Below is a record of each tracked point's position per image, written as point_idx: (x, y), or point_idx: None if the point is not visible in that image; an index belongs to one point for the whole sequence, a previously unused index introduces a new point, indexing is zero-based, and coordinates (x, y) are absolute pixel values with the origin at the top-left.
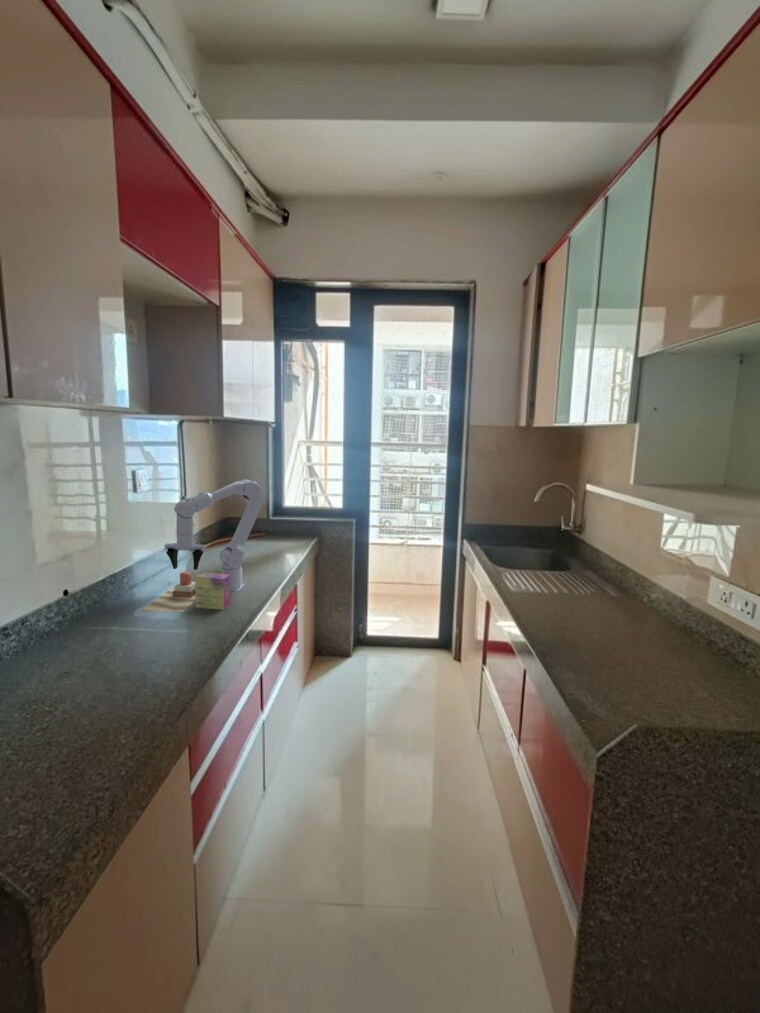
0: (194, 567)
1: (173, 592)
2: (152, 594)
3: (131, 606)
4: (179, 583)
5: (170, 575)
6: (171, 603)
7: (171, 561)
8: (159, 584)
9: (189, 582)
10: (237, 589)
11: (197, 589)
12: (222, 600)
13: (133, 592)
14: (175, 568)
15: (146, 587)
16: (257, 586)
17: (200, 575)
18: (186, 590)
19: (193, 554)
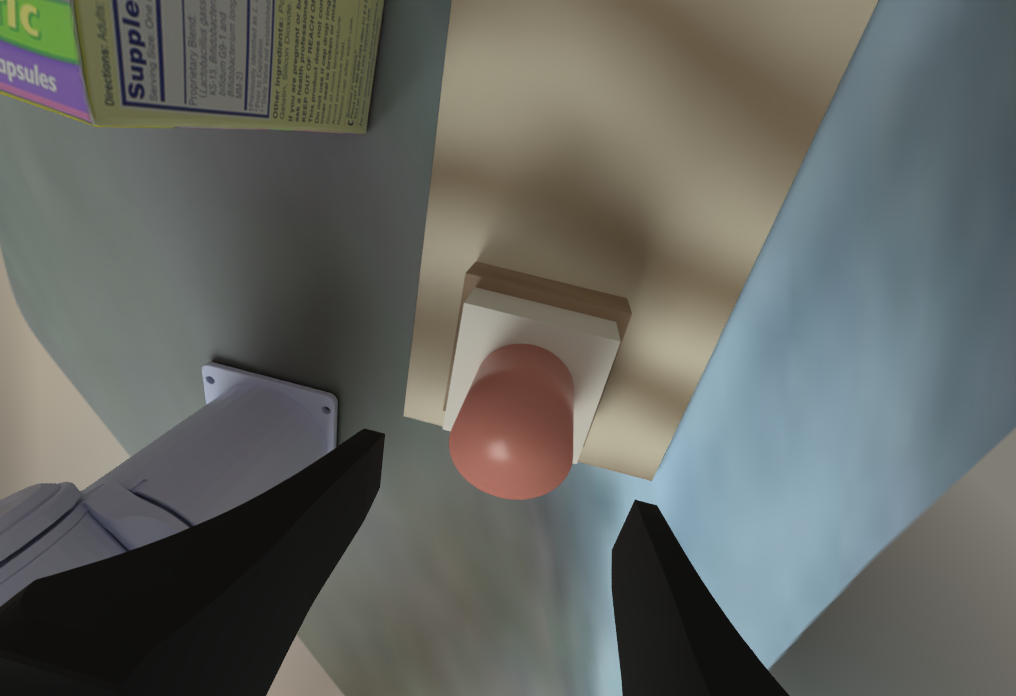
0: (356, 445)
1: (623, 308)
2: (785, 398)
3: (998, 107)
4: (581, 403)
5: None
6: (619, 112)
7: (714, 603)
8: (736, 571)
9: (481, 368)
10: (217, 389)
11: None
12: None
13: (931, 460)
14: (631, 512)
15: (825, 536)
16: (146, 443)
17: None
18: (510, 298)
19: (151, 620)
